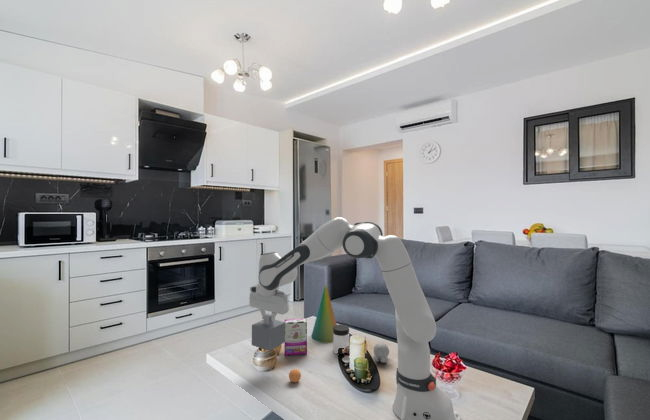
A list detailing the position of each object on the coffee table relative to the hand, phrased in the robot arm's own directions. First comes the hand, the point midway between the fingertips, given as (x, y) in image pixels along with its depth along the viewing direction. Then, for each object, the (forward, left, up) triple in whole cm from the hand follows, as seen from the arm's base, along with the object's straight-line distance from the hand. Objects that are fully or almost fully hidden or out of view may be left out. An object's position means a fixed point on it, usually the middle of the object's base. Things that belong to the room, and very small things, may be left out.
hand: (268, 320), depth 134 cm
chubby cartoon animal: (-39, -37, -23) cm, 58 cm away
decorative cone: (-2, -45, -23) cm, 51 cm away
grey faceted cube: (0, 0, -10) cm, 10 cm away
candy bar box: (0, -20, -23) cm, 30 cm away
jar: (-18, -34, -23) cm, 45 cm away
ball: (-15, 0, -20) cm, 25 cm away
